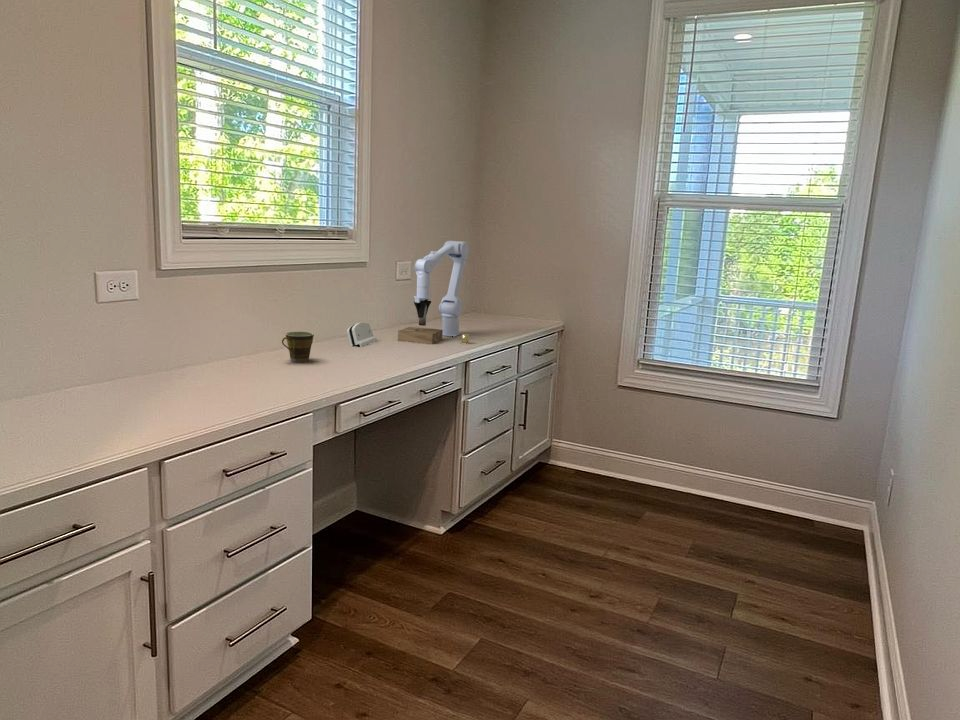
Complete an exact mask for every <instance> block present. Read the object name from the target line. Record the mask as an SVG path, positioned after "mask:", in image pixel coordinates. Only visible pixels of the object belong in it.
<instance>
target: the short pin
mask: <svg viewBox="0 0 960 720" xmlns="http://www.w3.org/2000/svg"><path fill="white" fill-rule="evenodd" d="M469 339H470V334H468V333H461V343H460V344H462V343H466V344H465V345H468V344H467V343H469V342H470V340H469Z"/></svg>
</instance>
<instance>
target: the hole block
mask: <svg viewBox="0 0 960 720" xmlns="http://www.w3.org/2000/svg"><path fill="white" fill-rule="evenodd" d="M398 340H399V341H398ZM439 340H440V341H442V340H443V330H442V329H438V328H427V327H417V326H408V327H405V328H402V329H399V330H397V341H398V342H404V341H408V342H407V343H414V342H418V343H417V344H424V343H427V344H426V345H434V344H436V343H438V342H440V341H439ZM437 341H438V342H437ZM435 342H436V343H435ZM433 343H434V344H433Z"/></svg>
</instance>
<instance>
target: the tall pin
mask: <svg viewBox="0 0 960 720" xmlns="http://www.w3.org/2000/svg"><path fill="white" fill-rule="evenodd" d="M426 310H427V305H426V307H425V311H424V317H423V318H418V325H419V326H426V325H427V315H426Z"/></svg>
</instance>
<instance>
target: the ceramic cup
mask: <svg viewBox="0 0 960 720" xmlns="http://www.w3.org/2000/svg"><path fill="white" fill-rule="evenodd" d="M285 340H286V344H287V345H286V344H285V343H284V341H285ZM313 342H314V333H313V332H310V331H290V332H287V333H285V337H283V338H282V340H281V344H282V345H283V346H284V347H286V349H287V350H288V354H289V359H290V362H293V361H294V363H305V361H307V362H309V360H310V357H311V356H310V355H311V349H312V346H313Z"/></svg>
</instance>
